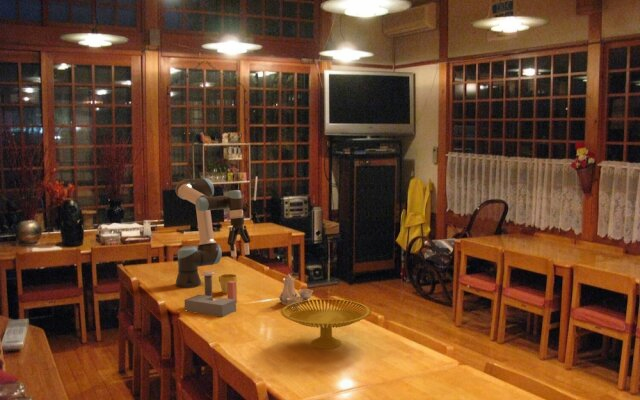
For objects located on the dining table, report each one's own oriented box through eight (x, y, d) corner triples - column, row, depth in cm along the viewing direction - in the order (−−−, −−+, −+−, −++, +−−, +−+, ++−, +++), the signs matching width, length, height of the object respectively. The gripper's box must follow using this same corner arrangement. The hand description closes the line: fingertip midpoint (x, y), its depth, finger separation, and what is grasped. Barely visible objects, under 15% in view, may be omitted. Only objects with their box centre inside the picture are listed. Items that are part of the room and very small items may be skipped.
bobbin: (195, 304, 355) (194, 273, 353) (206, 299, 364) (206, 269, 362) (210, 306, 350) (209, 275, 348) (221, 301, 359) (220, 271, 357)
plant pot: (238, 290, 385) (238, 273, 383) (234, 294, 374) (234, 277, 373) (221, 289, 386) (221, 273, 384) (217, 294, 375) (216, 277, 374)
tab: (227, 303, 355) (227, 282, 354) (231, 302, 358) (230, 280, 357) (233, 304, 354) (232, 282, 352) (236, 303, 357) (236, 281, 355)
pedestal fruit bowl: (319, 323, 318) (319, 293, 317) (389, 340, 293) (389, 308, 291) (261, 345, 287) (260, 312, 286) (333, 366, 262) (333, 330, 260)
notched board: (184, 311, 342) (184, 299, 341) (199, 305, 353) (198, 294, 352) (222, 316, 331) (222, 305, 330) (236, 310, 342) (235, 299, 341)
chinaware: (302, 314, 341) (305, 283, 338) (271, 309, 344) (274, 278, 342) (313, 300, 368) (316, 271, 366) (285, 295, 371) (287, 267, 369)
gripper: (230, 218, 354) (234, 257, 353) (254, 216, 376) (257, 253, 376) (218, 219, 357) (222, 258, 356) (243, 217, 379) (246, 254, 379)
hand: (240, 255), depth 366 cm, fingers open, 13 cm apart
